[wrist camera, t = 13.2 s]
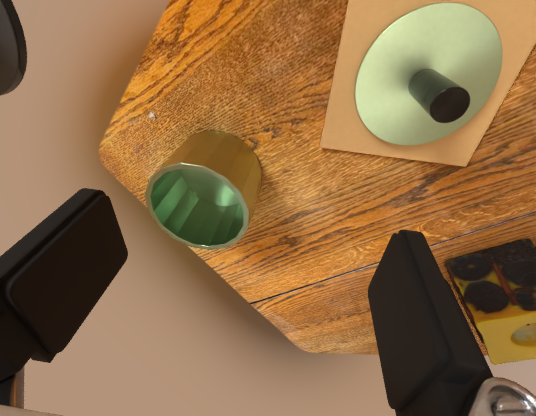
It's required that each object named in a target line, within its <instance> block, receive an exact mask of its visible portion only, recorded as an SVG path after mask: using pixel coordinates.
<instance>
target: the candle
mask: <svg viewBox="0 0 536 416" xmlns="http://www.w3.org/2000/svg"><path fill="white" fill-rule="evenodd" d="M445 265H446V267H447V270H448V272H449V276H450V278H451V280H452V283H453V285H454V288H456V291H457V292H458V294H459V299H460V301H461V304H462V305H463V307H464V309H465V311H466V313H467V316H468V318H469V319H470V321H471V323H472V325H473V326H474V328H475V330H476V332H477V334H478V336H479V338H480V340H481V342H482V343H483V344H485V347H486V350H487V353H488V356H489V358H490V361H491V363H492V364H494V365H495V364H501V363H508V362H516V361H523V360H530V359H536V247H535V246H534V244H533V243H532V241H531V240H529V239H525V240H518V241H516V242H513V243H507V244H504V245H501V246H497V247H493V248H489V249H486V250H482V251H479V252H475V253H472V254H469V255H465V256H460V257H457V258H454V259H449V260H447V261H446V262H445Z"/></svg>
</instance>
